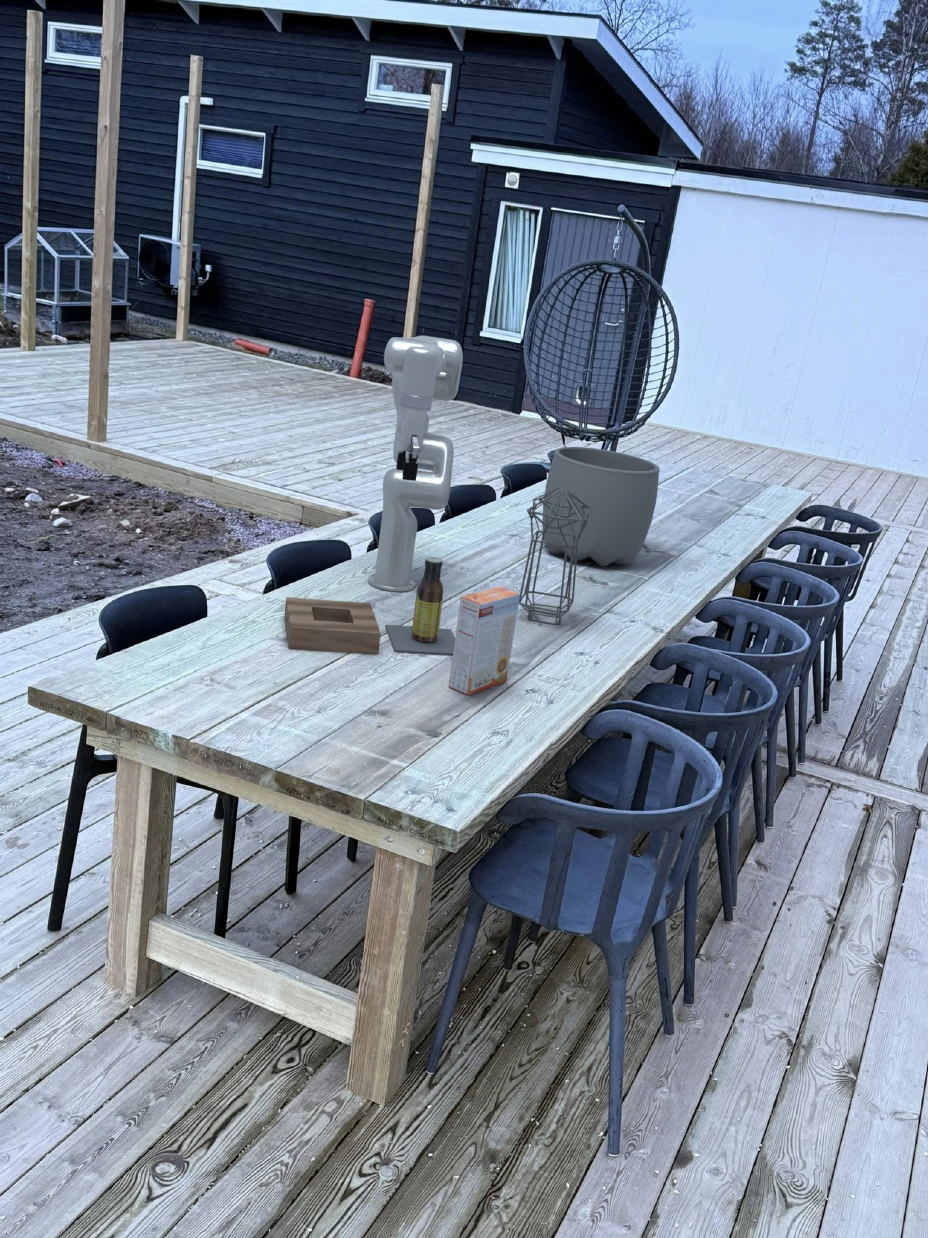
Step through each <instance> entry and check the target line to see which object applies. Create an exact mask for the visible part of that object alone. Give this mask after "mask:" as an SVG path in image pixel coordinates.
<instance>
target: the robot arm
mask: <svg viewBox="0 0 928 1238" xmlns="http://www.w3.org/2000/svg"><path fill="white" fill-rule="evenodd" d="M463 357H464V355H463V349H462V346H461V344H460V343H459V342H458V341H456V340H454V339H448V338H442V337H435V336H428V335H418V336H415V337H414V336H413V337H399V336H398V337H397V336H396V337H394V336H393V337H391V338H390V339H389V340H388V342H387V344H386V346H385V349H384V354H383V362H384V366H385V368H386V369H387V371H388V372H392V378H391V379H392V383H391V386H392V388H391V390H392V398H393V402H394V404H395V405H394V406H395V410H396V416H397V417H396V426H395V432H394V441H393V448H392V449H393V451H392V452H393V453H392V456H393V461H394V462H395V463H396V467H395V468H390V469H388V470H387V471H386V472H385V474H384V476H383V480H382V514H381V522H380V523H381V524H380V533H379V537H378V538H379V539H378V540H379V541H378V548H377V555H376V562H375V565H376V566H375V570H374V573H373V574H371V575H369V576H368V579H367V581H368V583H369V584H370V585H371V586H373V587H374V588H377V589H380V590H385V591H390V592H398V593H399V592H401V593H402V592H408V591H409V592H410V591H412V590H414V589H415V587H416V582H415V580H414V579H412V578H411V576H412V567H413V562H414V561H413V559H414V554H415V553H414V552H415V544H416V539H417V531H418V520H417V518H416V515H415V514H414V513H413V510H412V509H411V508H421V509H428V510H435V511H436V510H438V511H439V510H443V509H445V508H446V506H447V505H448V502H449V499H450V492H451V486H452V485H451V484H452V475H453V474H452V473H453V467H454V466H453V465H454V453H455V450H454V443H453V441H452V439H450V438H449V437H447V436H446V435H439V434H434V433H433V434H432V433H429V424H430V417H429V414H428V412H431V411H432V407H433V406H432V404H433V400H436V401H442V402H443V401H444V402H449V401H453V400H454V399H455V398H456V396H457V394H458V391H459V385H460V380H461V373H462V367H463V361H464V360H463Z"/></svg>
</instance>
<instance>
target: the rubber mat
mask: <svg viewBox="0 0 928 1238" xmlns="http://www.w3.org/2000/svg"><path fill="white" fill-rule="evenodd" d="M412 627H413V625H411V626H410V625H400V624H399V625H398V624H397V625H396V624H385V630H386V633H387V635H388V639H389V641H390V643H391V645H392V649H393V652H394V653H400V654H401V653H404V654H405V653H407V654H420V655H433V656H434V655H436V656H449V657H453V651H454V644H455V637H456V636H454V633H453V631H452V629H451V628H440V627H439V633H438V635H437V640H436V641H434V642H428V643H424V642H421V641H418V640H416V639H414V638H413V636H412Z"/></svg>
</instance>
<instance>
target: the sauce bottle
mask: <svg viewBox="0 0 928 1238" xmlns="http://www.w3.org/2000/svg"><path fill="white" fill-rule="evenodd" d="M443 563H444V561H443V559H442V558H440V557H437V556H428V557H425V560H424V571H423V577H422V579H421V581H420V583H419V585H418V586H417V589H416V593H415V595H416V596H415V602H414V611H413V620H412V626H413V627H412V636H413V638H414V639H416V640H418V641H421V642H424V643H428V642H434V641H436V640H437V635H438V633H439V628H440V624H441V617H442V616H441V615H442V608H443V601H444V600H443V599H444V598H443V597H444V596H443V595H444V585H443V582H442V581H441V573H442V572H441V571H442V567H443Z"/></svg>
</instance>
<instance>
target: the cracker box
mask: <svg viewBox="0 0 928 1238" xmlns="http://www.w3.org/2000/svg"><path fill="white" fill-rule="evenodd" d="M519 599H520V592H519V593H518V592H515V591H513V590H510V589H508V588H506V587H503V586H498V587H494V588H490V589H486V590H482V591H479V592H475V593H472V594H471V593H470V594H467V595H463V596H461V597H460V600H459V601H460V603H459V609H458V617H457V624H456V631H455V636H454V637H455V644H454V651H453V656H452V659H451V666H450V667H451V668H450V672H449V673H450V674H449V675H450V676H449V680H448V688H451V689H453V690H455V691H457V692H460V693H462V694H464V695H466V696H470V695H474V694H476V693H478V692H482V691H484V690H487V689H489V688H492V687H495V686H498V685H501V684H503V683H505V682H507V681H508V673H509V667H510V659H511V655H512V654H511V653H512V648H513V642H514V636H515V635H514V634H515V628H516V622H517V616H518V612H519V611H518V610H519V605H520V604H519Z"/></svg>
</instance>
